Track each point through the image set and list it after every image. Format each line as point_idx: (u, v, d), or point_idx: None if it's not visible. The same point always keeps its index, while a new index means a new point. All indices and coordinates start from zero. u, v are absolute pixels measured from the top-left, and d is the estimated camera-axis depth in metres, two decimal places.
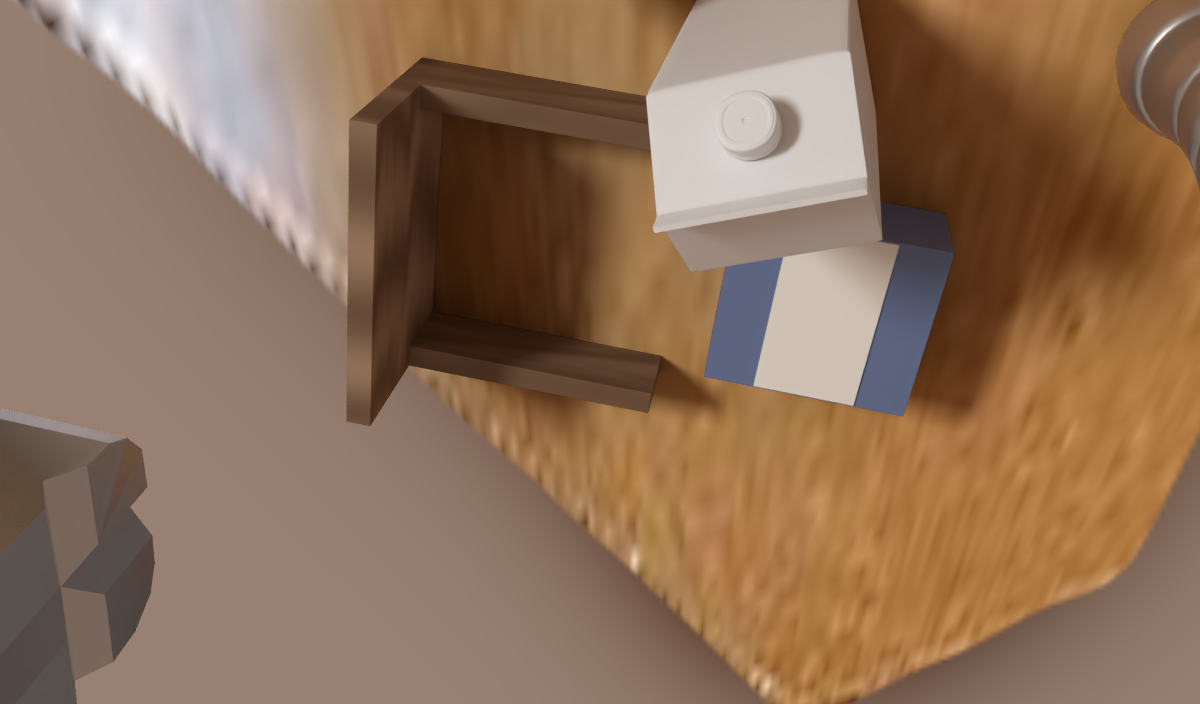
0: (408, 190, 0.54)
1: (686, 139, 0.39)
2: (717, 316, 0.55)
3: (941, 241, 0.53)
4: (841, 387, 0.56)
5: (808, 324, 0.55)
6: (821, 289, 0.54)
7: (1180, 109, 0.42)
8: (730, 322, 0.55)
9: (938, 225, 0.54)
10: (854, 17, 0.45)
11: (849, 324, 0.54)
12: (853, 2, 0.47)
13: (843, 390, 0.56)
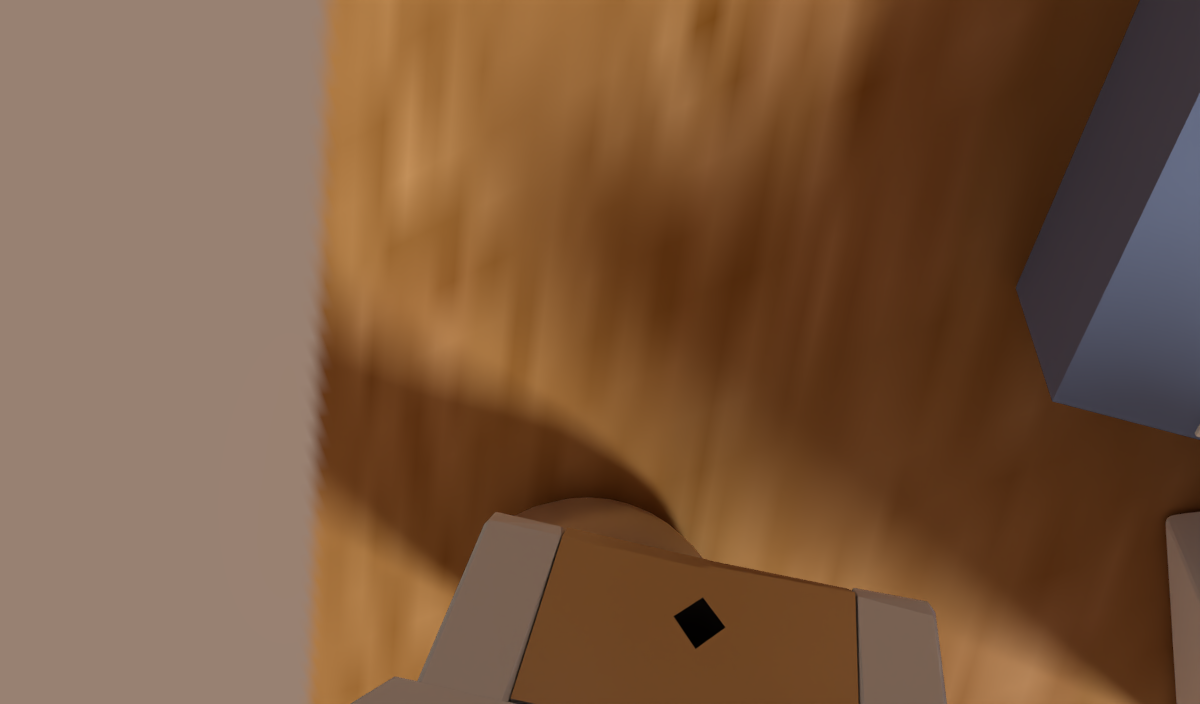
0: None
1: None
2: None
3: None
4: None
5: None
6: None
7: None
8: None
9: None
10: None
11: None
12: None
13: None
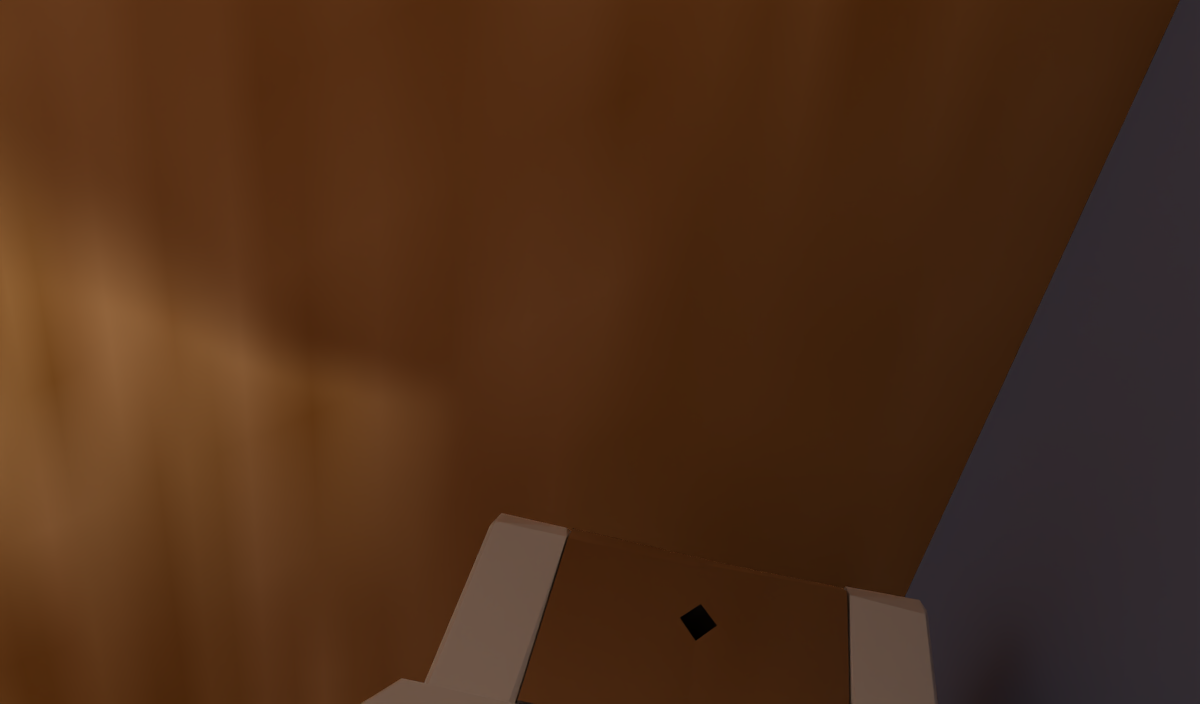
0: None
1: None
2: None
3: None
4: None
5: None
6: None
7: None
8: None
9: None
10: None
11: None
12: None
13: None
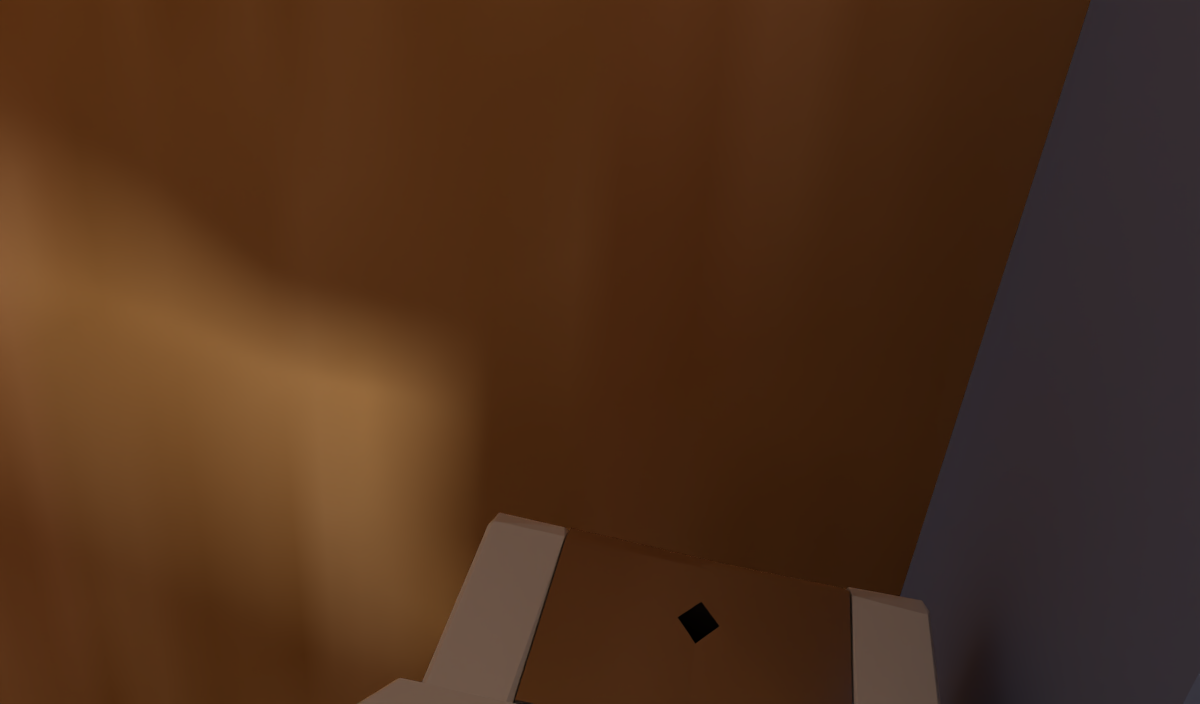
0: None
1: None
2: None
3: None
4: None
5: None
6: None
7: None
8: None
9: None
10: None
11: None
12: None
13: None
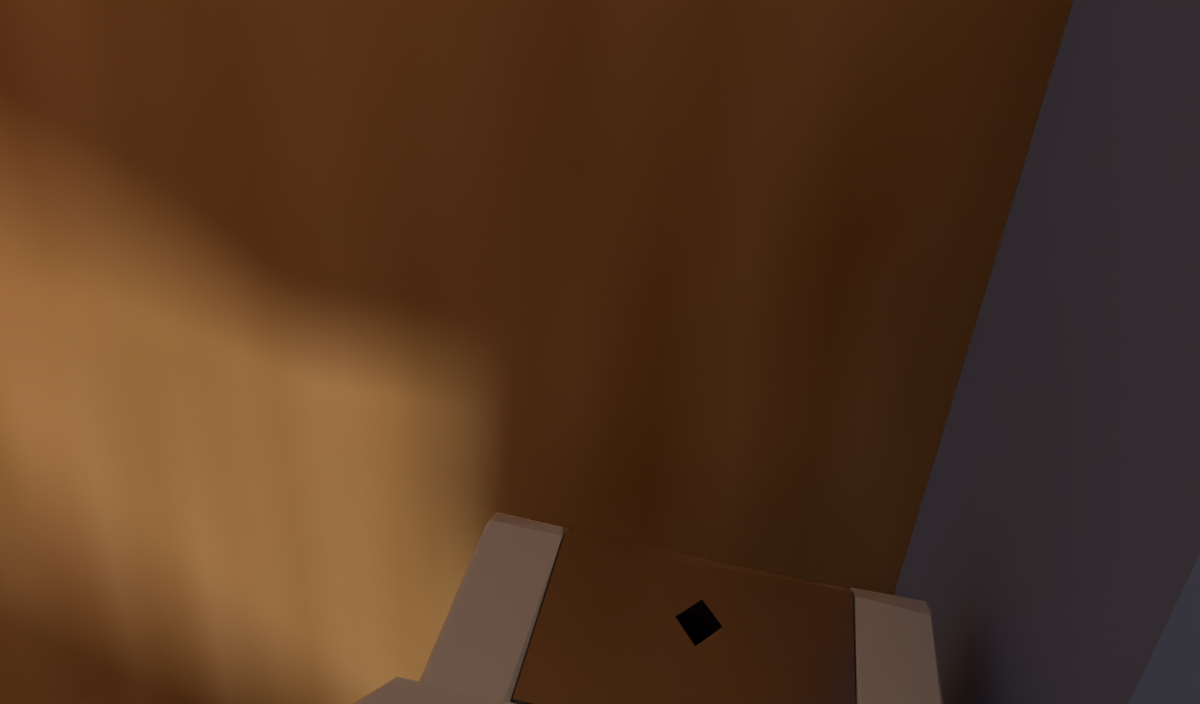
0: None
1: None
2: None
3: None
4: None
5: None
6: None
7: None
8: None
9: None
10: None
11: None
12: None
13: None
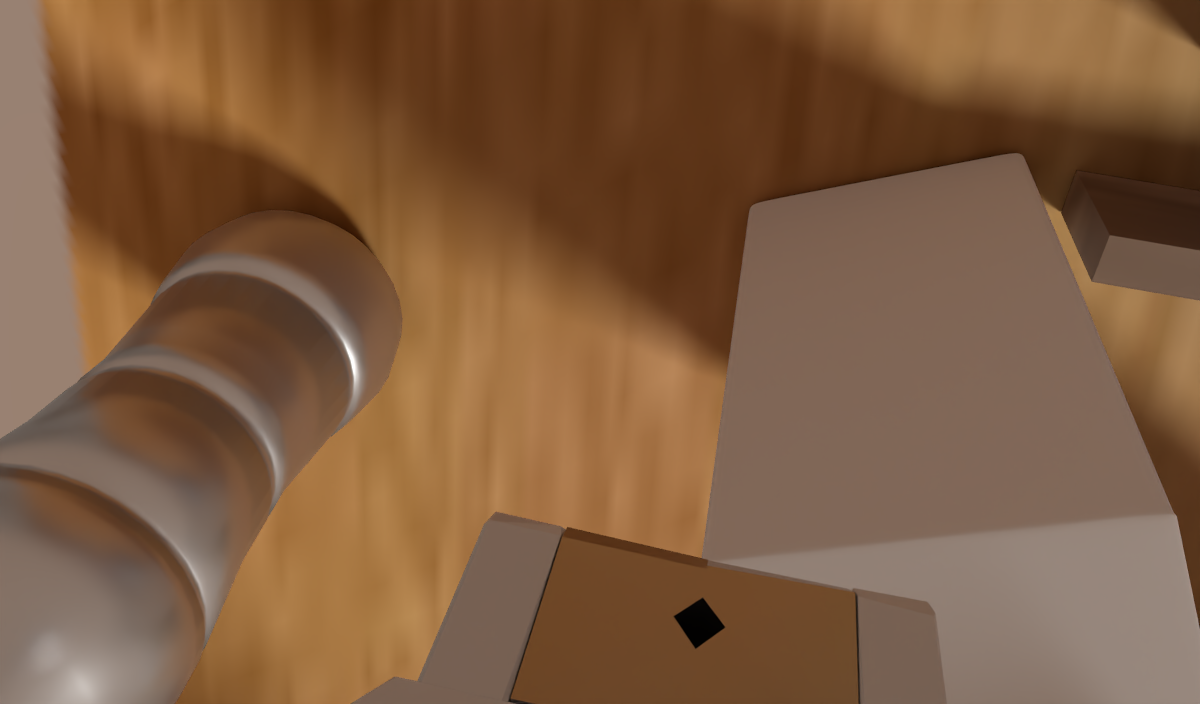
0: None
1: None
2: None
3: None
4: None
5: None
6: None
7: (268, 487, 0.26)
8: None
9: None
10: None
11: None
12: None
13: None
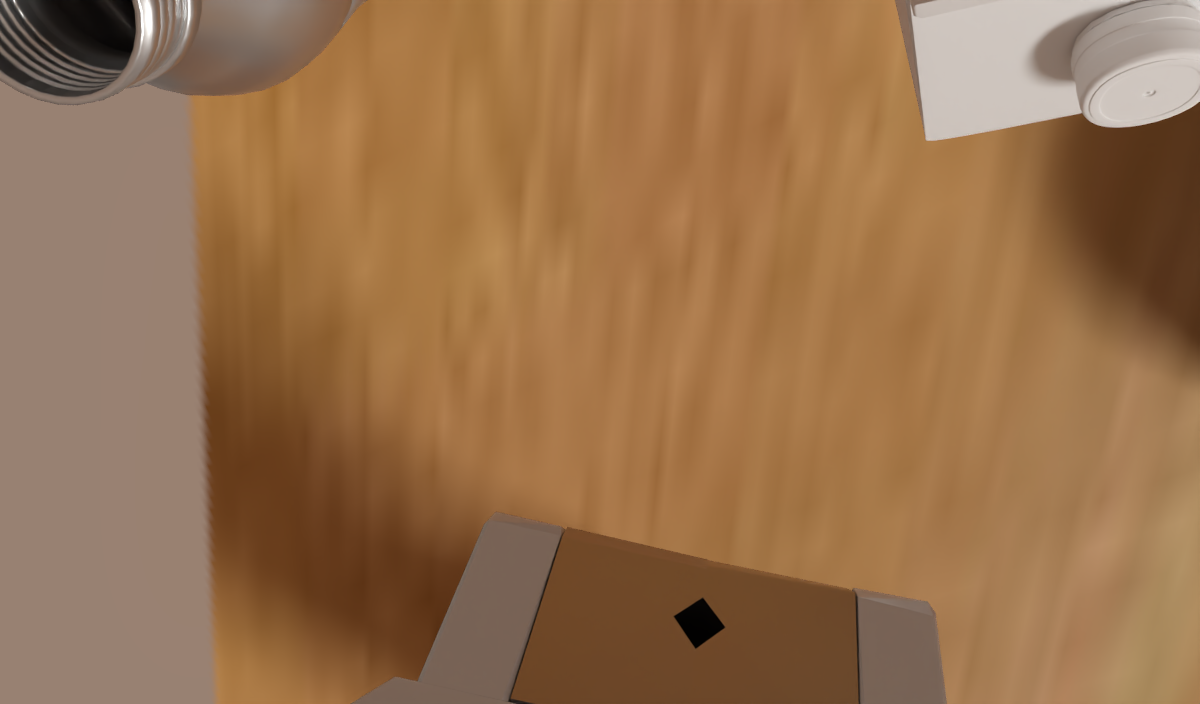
0: None
1: None
2: None
3: None
4: None
5: None
6: None
7: None
8: None
9: None
10: None
11: None
12: None
13: None
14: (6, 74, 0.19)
